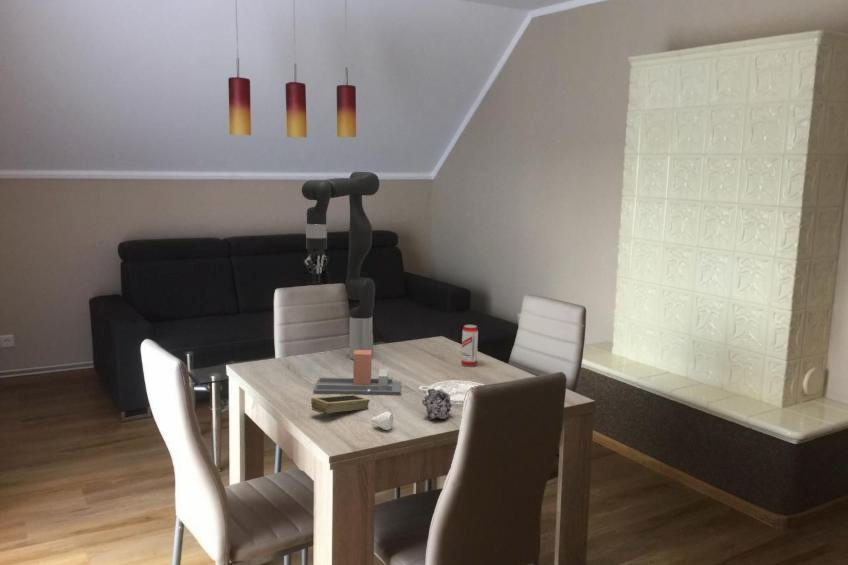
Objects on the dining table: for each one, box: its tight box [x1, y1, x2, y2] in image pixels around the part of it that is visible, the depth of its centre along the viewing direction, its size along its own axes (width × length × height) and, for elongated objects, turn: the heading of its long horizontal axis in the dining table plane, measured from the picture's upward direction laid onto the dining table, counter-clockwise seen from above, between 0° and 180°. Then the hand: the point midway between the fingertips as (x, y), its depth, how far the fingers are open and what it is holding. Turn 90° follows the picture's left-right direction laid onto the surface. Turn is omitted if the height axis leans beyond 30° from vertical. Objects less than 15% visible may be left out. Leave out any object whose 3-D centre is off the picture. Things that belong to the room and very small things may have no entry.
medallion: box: [418, 379, 484, 408], centre depth 252 cm, size 24×27×2 cm
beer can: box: [460, 324, 479, 368], centre depth 288 cm, size 6×6×16 cm
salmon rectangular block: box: [352, 350, 373, 385], centre depth 254 cm, size 6×6×12 cm
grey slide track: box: [313, 368, 402, 396], centre depth 255 cm, size 30×12×6 cm, turn 92°
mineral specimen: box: [421, 389, 453, 421], centre depth 230 cm, size 13×10×11 cm
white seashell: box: [370, 411, 394, 431], centre depth 218 cm, size 6×6×5 cm
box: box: [310, 394, 370, 415], centre depth 233 cm, size 8×22×5 cm, turn 141°
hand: (316, 283), depth 264 cm, fingers closed
